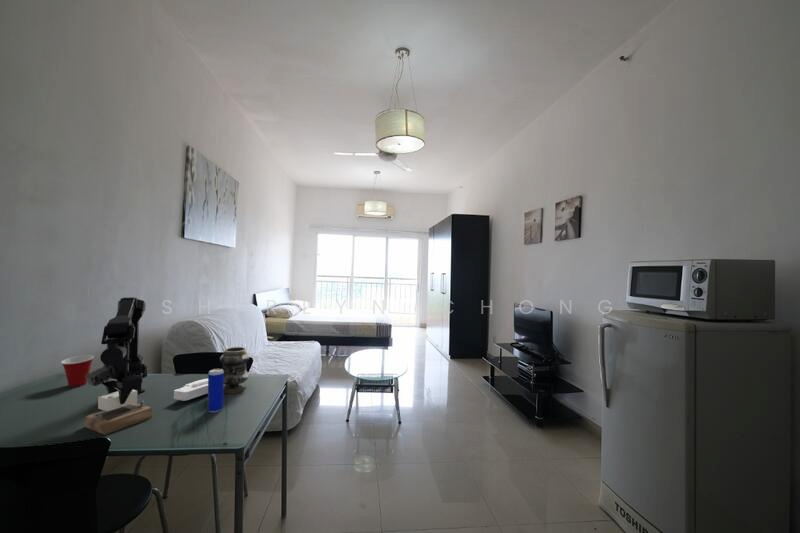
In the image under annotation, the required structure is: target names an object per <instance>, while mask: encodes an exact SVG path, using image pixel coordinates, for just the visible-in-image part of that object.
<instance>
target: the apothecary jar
mask: <svg viewBox="0 0 800 533" xmlns="http://www.w3.org/2000/svg"><path fill="white" fill-rule="evenodd" d="M223 351H224V352H223V353H222V355H221V356H220V357H219V361H220V363H221V364H222V369H223V371H224V384H225V385H226V386H224V387H223V394H238V393H241V392H244V391H245V389H247V387H246V386H245V384H243V383H245V382H246V381H247V380H248V379H249V377H250V374H249V371H247V362H248V361H249V359H250V354H249V353H248V352H247V350H246V347H243V346H234V347H233V346H232V347H231V346H230V347H227V348H226V349H224V350H223Z"/></svg>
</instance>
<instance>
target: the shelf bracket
mask: <svg viewBox="0 0 800 533" xmlns="http://www.w3.org/2000/svg"><path fill="white" fill-rule="evenodd" d="M226 386H227V385H225V384H224V387H226ZM204 395H208V377H207V378H203V379H199V380H195V381H193V382H190V383H186V384H185V385H183V387H180V388H177V389H174V390H173V400H177V401H183V402H185V401H189V400H192V399H196V398H198V397H202V396H204Z"/></svg>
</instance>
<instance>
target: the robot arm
mask: <svg viewBox="0 0 800 533" xmlns="http://www.w3.org/2000/svg"><path fill="white" fill-rule="evenodd" d="M146 308H147V307H146V302H145V300H142V299H139V298H137V297H134V296H133V297H130V296H129V297H122V298H121V297H120V300H118V301H117V308H116V309H117V311H116V314H115V317H113V318H111V319H109V320H108V322H107V323H106V325H104V327H103V331H102V338H101V343H100V345H106V348H105V349H104V350H103V351H102V352H101V354H100V356H99V358H100V361H101V363H102V364H103V366H102V367H101V368H97V369H95V370H94V371H92V372H89V374H87V375H86V376H85V377H86V380H87V383H88V385H89V386H90V385H91V386H93V387H97V386H99V385H102V386H104V387H105V389H106V392H107V394H110V393H113V392H117V391H118V393H119V400H120V404H124V403H125V402H126V400H127V398H128V396H129V394H130V393H131V391H132V390H136V391H137V394H139V393H143V392H146V389H143V388H142V386H143V383H144V379H145V378H148V366H147V365H146V363H144V362H145V361H144V357H143V356H142V355H141V354H140V329H139V328H140V320H141V319H142V317H143V316H144V312H146Z"/></svg>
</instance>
